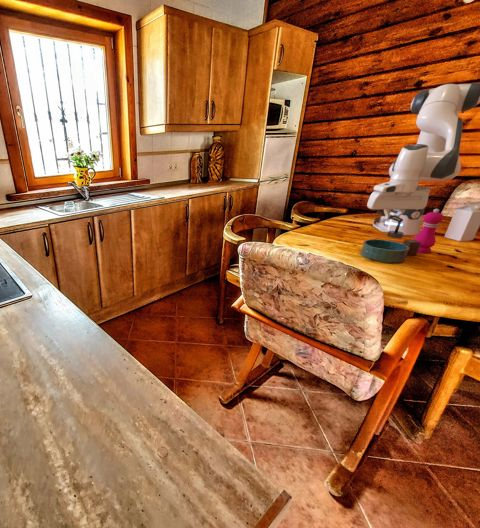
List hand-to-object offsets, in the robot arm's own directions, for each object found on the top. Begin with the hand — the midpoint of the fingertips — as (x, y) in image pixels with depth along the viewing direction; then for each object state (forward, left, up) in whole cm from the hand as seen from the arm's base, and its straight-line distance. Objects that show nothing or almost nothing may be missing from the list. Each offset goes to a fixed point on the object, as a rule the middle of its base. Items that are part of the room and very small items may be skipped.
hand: (391, 219), depth 121 cm
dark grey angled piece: (-1, 0, -6) cm, 7 cm away
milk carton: (-26, +50, -17) cm, 59 cm away
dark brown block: (-3, +13, -17) cm, 22 cm away
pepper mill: (-7, +21, -17) cm, 28 cm away
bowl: (+2, 0, -17) cm, 17 cm away
